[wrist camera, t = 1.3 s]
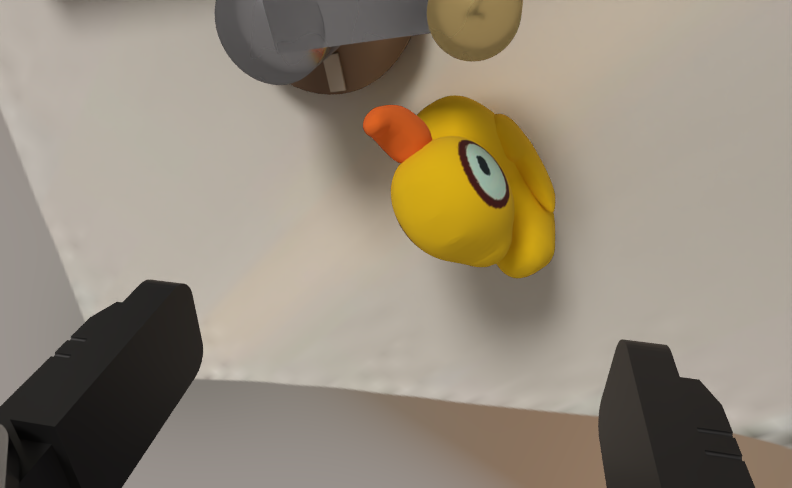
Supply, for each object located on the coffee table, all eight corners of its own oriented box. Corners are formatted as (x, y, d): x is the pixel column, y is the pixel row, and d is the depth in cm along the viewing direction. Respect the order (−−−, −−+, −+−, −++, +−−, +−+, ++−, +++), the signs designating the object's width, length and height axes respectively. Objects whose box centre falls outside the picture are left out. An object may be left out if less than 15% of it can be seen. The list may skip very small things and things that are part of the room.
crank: (248, 81, 24) (198, 117, 21) (213, -32, 22) (152, -13, 19) (527, 46, 21) (525, 81, 18) (520, -89, 19) (516, -79, 16)
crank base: (402, -137, 24) (368, -139, 19) (432, 74, 29) (410, 116, 24) (215, -96, 27) (142, -88, 22) (270, 93, 31) (220, 135, 26)
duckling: (369, 89, 30) (306, 171, 22) (450, 21, 27) (412, 85, 19) (498, 242, 33) (485, 363, 25) (581, 195, 31) (596, 312, 22)
